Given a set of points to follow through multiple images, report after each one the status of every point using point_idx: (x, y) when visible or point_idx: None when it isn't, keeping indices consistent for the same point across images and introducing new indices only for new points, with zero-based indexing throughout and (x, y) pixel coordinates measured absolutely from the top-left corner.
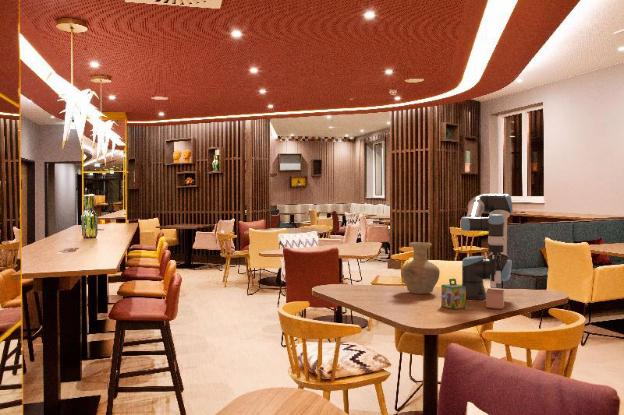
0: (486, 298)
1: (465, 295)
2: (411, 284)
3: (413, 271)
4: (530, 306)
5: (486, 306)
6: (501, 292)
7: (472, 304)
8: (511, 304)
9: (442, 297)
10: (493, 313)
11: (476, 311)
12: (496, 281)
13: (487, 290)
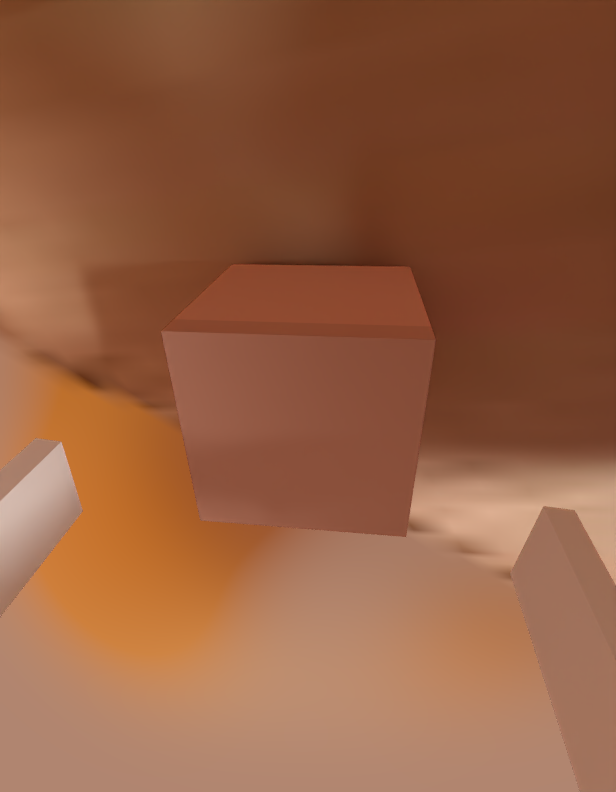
0: (202, 296)
1: None
2: None
3: None
4: (499, 565)
5: (230, 268)
6: (201, 508)
7: (451, 34)
8: (558, 459)
9: None
10: (81, 339)
11: (52, 172)
12: (548, 555)
13: (261, 341)
